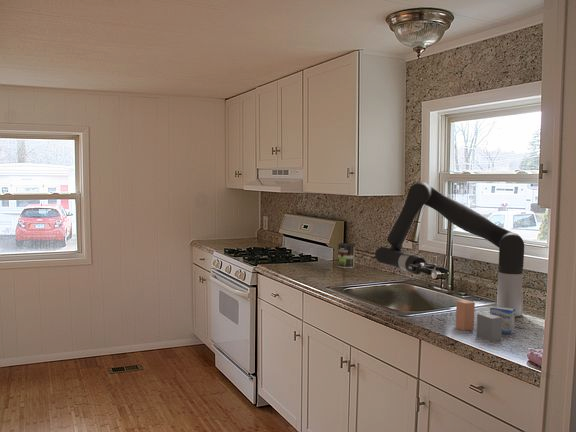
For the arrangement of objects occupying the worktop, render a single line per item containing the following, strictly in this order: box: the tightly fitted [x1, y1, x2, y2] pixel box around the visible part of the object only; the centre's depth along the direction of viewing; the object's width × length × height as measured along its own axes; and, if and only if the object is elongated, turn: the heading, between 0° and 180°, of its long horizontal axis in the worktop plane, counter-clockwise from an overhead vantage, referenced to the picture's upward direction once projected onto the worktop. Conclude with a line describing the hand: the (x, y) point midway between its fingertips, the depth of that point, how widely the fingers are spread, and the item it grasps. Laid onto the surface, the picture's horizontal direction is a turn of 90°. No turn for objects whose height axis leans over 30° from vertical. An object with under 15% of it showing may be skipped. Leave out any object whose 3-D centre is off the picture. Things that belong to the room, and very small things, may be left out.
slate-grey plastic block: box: [476, 312, 503, 343], centre depth 191 cm, size 4×7×8 cm, turn 24°
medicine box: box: [489, 305, 516, 335], centre depth 200 cm, size 8×4×9 cm, turn 56°
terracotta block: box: [455, 299, 476, 331], centre depth 203 cm, size 4×4×10 cm
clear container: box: [337, 242, 356, 269], centre depth 338 cm, size 10×10×14 cm
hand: (439, 272), depth 216 cm, fingers open, 8 cm apart
